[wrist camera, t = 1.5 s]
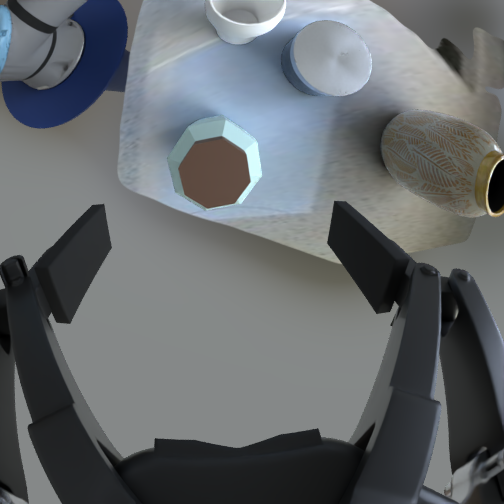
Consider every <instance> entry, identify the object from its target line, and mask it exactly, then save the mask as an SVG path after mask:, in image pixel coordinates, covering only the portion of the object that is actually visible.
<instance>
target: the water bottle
mask: <svg viewBox="0 0 504 504" xmlns="http://www.w3.org/2000/svg"><path fill="white" fill-rule="evenodd" d="M167 160H168V164H169V168H170V173H171V177H172V181H173V185H174V189H175V193H177V194H178V195H180V196H182V197H183V198H185V199H187V200H188V201H190V202H192V203H193V204H195V205H197V206H198V207H200V208H202V209H203V210H205V211H207V210H212V209H217V208H222V207H228V206H233V205H238V204H241V203H242V202H243V200H244V199H245V198H246V196H247V195H248V194H249V192H250V191H251V190H252V188H253V187H254V186H255V184H256V183H257V182H258V180H259V179H260V178H261V177H262V172H261V165H260V158H259V151H258V144H257V140H256V139H255V138H253V137H252V136H251V135H250V134H248V133H247V132H246V131H245V130H243V129H242V128H241V127H240V126H238V125H237V124H235V123H234V122H232V121H231V120H229V119H228V118H226V117H225V116H223V115H218V116H213V117H208V118H203V119H199V120H197V121H196V122H194V123H193V124H191V125H190V126H188V127H187V129H186V130H185V132H184V133H183V135H182V136H181V138H180V139H179V141H178V142H177V144H176V145H175V147H174V148H173V150H172V151H171V153H170V155H169V156H168V158H167Z"/></svg>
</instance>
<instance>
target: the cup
mask: <svg viewBox="0 0 504 504" xmlns="http://www.w3.org/2000/svg"><path fill="white" fill-rule="evenodd" d="M285 7H286V0H205V11H206V15H207V18H208V20H209V21H210V23H211V24H212V25H213V26H214V27H215V28H216V32H217V34H218V35H219V37H220V38H221V39H222V40H224V41H226V42H227V43H231V44H236V45H241V44H246V43H249V42H251V41H253V40H254V39H255V38H256V37H257V36H260V35H262V34H265V33H267V32H268V31H270V30H272V29H273V28H274V27H275V26H276V25H277V24H278V22H279V21H280V20H281V19H282V17H283V15H284V13H285Z"/></svg>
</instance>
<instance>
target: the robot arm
mask: <svg viewBox="0 0 504 504" xmlns="http://www.w3.org/2000/svg"><path fill="white" fill-rule="evenodd" d="M86 1H87V0H8V1H7V2H6V3H5V5H0V81H17V80H21V81H23V82H24V83H26V84H27V85H29V86H30V87H32V88H35V89H38V90H40V89H51V88H54V87H56V86H58V85H60V84H61V83H63V82H64V81H65V80H67V79H68V78H69V77H70V76H71V75H72V73H73V72H74V71H75V69H76V68H77V66H78V65H79V63H80V61H81V59H82V57H83V54H84V51H85V46H86V36H85V32H84V29H83V28H82V26H81V25H80V24H79V23H77V22H75V21H73V20H71V17H72V16H73V15H74V12H75V11H76V10H77V9H78V8H79V7H80V6H82V5H83V4H84V3H85V2H86ZM327 244H328V245H329V246H330V248H331V249H332V250H333V252H334V253H335V254H336V256H337V257H338V259H339V260H340V261H341V263H342V264H343V266H344V267H345V268H346V270H347V271H348V273H349V274H350V275H351V277H352V278H353V280H354V281H355V283H356V284H357V285H358V287H359V288H360V290H361V291H362V293H363V294H364V296H365V297H366V299H367V300H368V302H369V303H370V305H371V306H372V307H373V309H374V311H375V312H376V314H379V313H385V312H390V311H391V309H392V306H393V303H394V301H395V302H396V303H397V304H398V306H399V307H398V309H397V312H396V314H395V316H394V319H393V321H392V323H391V326H392V330H391V334H390V337H389V341H388V344H387V348H386V351H385V354H384V357H383V360H382V363H381V366H380V369H379V372H378V375H377V378H376V381H375V383H374V386H373V389H372V391H371V394H370V397H369V399H368V402H367V404H366V407H365V409H364V412H363V414H362V416H361V419H360V421H359V423H358V426H357V428H356V430H355V432H354V434H353V435H352V437H351V438H350V440H349V442H345V441H342V440H337V439H332V438H325V437H321V436H320V432H319V429H318V428H317V429H312V430H307V431H301V432H296V433H289V434H281V435H278V436H275V437H273V438H270V439H267V440H264V441H261V442H258V443H255V444H252V445H249V446H245V447H242V448H233V447H227V446H221V445H215V444H211V443H206V442H201V441H197V440H174V439H156V438H155V444H154V448H150V449H146V450H142V451H139V452H137V453H134V454H132V455H130V456H128V457H126V458H123V457H122V456H121V455H120V453H119V452H118V451H117V450H116V449H115V448H114V446H113V445H112V443H111V442H110V441H109V439H108V437H107V436H106V434H105V433H104V431H103V430H102V428H101V426H100V425H99V423H98V422H97V420H96V418H95V417H94V415H93V413H92V412H91V410H90V408H89V406H88V404H87V403H86V401H85V399H84V397H83V395H82V393H81V391H80V390H79V388H78V386H77V384H76V382H75V380H74V378H73V376H72V374H71V371H70V369H69V367H68V365H67V363H66V360H65V358H64V356H63V353H62V351H61V349H60V346H59V344H58V341H57V339H56V336H55V334H54V331H53V328H52V326H51V323H50V321H49V319H48V317H49V315H50V314H51V312H52V314H53V316H54V318H55V320H56V322H57V323H67V324H70V323H71V321H72V319H73V317H74V315H75V313H76V311H77V309H78V307H79V305H80V302H81V301H82V299H83V297H84V295H85V293H86V291H87V290H88V288H89V286H90V284H91V282H92V280H93V279H94V277H95V275H96V273H97V272H98V270H99V268H100V266H101V265H102V263H103V261H104V260H105V258H106V256H107V255H108V253H109V251H110V250H111V248H112V247H111V241H110V236H109V230H108V225H107V220H106V213H105V206H104V204H100V205H92V206H91V207H90V208H89V209H88V210H87V211H86V212H85V213H84V214H83V215H82V216H81V217H80V218H79V219H78V220H77V221H76V222H75V223H74V224H73V225H72V226H71V227H70V228H69V229H68V230H67V231H66V232H65V233H64V235H63V236H62V237H61V238H60V239H59V240H58V241H57V242H56V243H55V244H54V245H53V246H52V247H51V248H49V249H48V250H46V252H45V253H44V254H43V255H42V257H40V258H39V260H38V262H36V263H35V264H34V265H33V267H32V268H31V269H30V270H29V271H28V269H27V266H26V263H25V260H24V257H23V256H21V255H17V256H13V257H10V258H8V259H6V260H5V261H4V262H2V263H1V265H0V275H1V278H2V281H3V283H4V285H5V289H1V290H0V504H29V502H28V494H27V486H26V481H25V475H24V470H23V465H22V461H21V455H20V448H19V442H18V434H17V425H16V412H15V391H14V371H15V370H14V369H15V362H16V366H17V370H18V375H19V379H20V383H21V386H22V389H23V393H24V397H25V400H26V403H27V406H28V409H29V412H30V414H31V418H32V422H33V423H32V424H29V425H28V432H29V435H30V438H31V441H32V443H33V446H34V448H35V451H36V453H37V455H38V458H39V460H40V462H41V464H42V467H43V469H44V471H45V473H46V475H47V477H48V479H49V481H50V483H51V485H52V487H53V488H54V490H55V492H56V494H57V495H58V497H59V499H60V501H61V503H62V504H504V341H503V339H502V337H501V334H500V332H499V329H498V327H497V325H496V323H495V320H494V318H493V316H492V314H491V312H490V309H489V307H488V305H487V303H486V301H485V299H484V297H483V295H482V293H481V291H480V289H479V287H478V286H477V284H476V282H475V280H474V278H473V277H472V276H471V275H470V274H469V273H468V272H467V271H465V270H461V269H453V270H452V272H451V274H450V277H449V278H448V277H442V276H440V273H439V271H438V270H437V269H436V268H434V267H433V266H431V265H429V264H425V263H416V262H415V261H414V260H413V259H412V258H411V257H410V256H409V255H408V254H407V253H405V251H404V250H403V249H402V248H400V247H399V246H398V245H397V244H396V243H395V242H394V241H392V240H390V239H388V238H387V237H386V236H385V235H384V234H383V233H382V232H381V231H379V230H378V229H377V228H376V227H375V226H374V225H373V224H372V223H370V222H369V221H368V220H367V219H366V218H365V217H364V216H362V215H361V214H360V213H359V212H358V211H357V210H355V209H354V208H353V207H352V206H351V205H350V204H348V203H347V202H346V201H334V206H333V213H332V219H331V225H330V230H329V236H328V241H327ZM439 355H440V360H441V366H442V372H443V379H444V386H445V394H446V403H447V414H448V428H449V450H450V462H451V469H452V475H453V477H452V479H451V482H450V483H448V484H447V486H446V487H445V490H444V493H445V496H444V495H442V494H440V493H438V492H436V491H434V490H432V489H430V488H428V487H426V486H424V485H423V483H424V480H425V477H426V474H427V471H428V467H429V463H430V460H431V456H432V452H433V448H434V444H435V439H436V435H437V430H438V424H439V419H440V414H441V404H440V402H439V401H436V400H434V392H435V386H436V378H437V370H438V360H439Z"/></svg>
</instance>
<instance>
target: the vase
mask: <svg viewBox="0 0 504 504" xmlns="http://www.w3.org/2000/svg"><path fill="white" fill-rule="evenodd" d="M381 154H382V158H383V161H384V164H385V166H386V168H387V170H388V172H389V174H390V175H391V176H392V177H393V179H394V180H395V181H396V182H397V183H398V184H400V185H401V186H402V187H404V188H406V189H407V190H409V191H410V192H412V193H413V194H415V195H417V196H418V197H420V198H422V199H424V200H426V201H427V202H429V203H431V204H433V205H435V206H437V207H439V208H442V209H444V210H446V211H449V212H451V213H454V214H456V215H459V216H463V217H479V216H482V215H485V214H486V213H487V214H489V215H490V216H492V217H498V216H500V215H502V214H503V213H504V154H503V153H502V151H501V149H500V147H499V145H498V144H497V143H496V141H495V140H494V139H493V138H492V137H491V136H490V135H489V134H488V133H487V132H486V131H485V130H483V129H481V128H480V127H478V126H476V125H474V124H472V123H470V122H468V121H465V120H463V119H460V118H457V117H454V116H451V115H447V114H444V113H439V112H434V111H428V110H419V109H415V110H408V111H404V112H402V113H400V114H398V115H397V116H395V117H394V118H393V119H392V120H391V121H390V122H389V123H388V124H387V126H386V127H385V129H384V131H383V134H382V137H381Z"/></svg>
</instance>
